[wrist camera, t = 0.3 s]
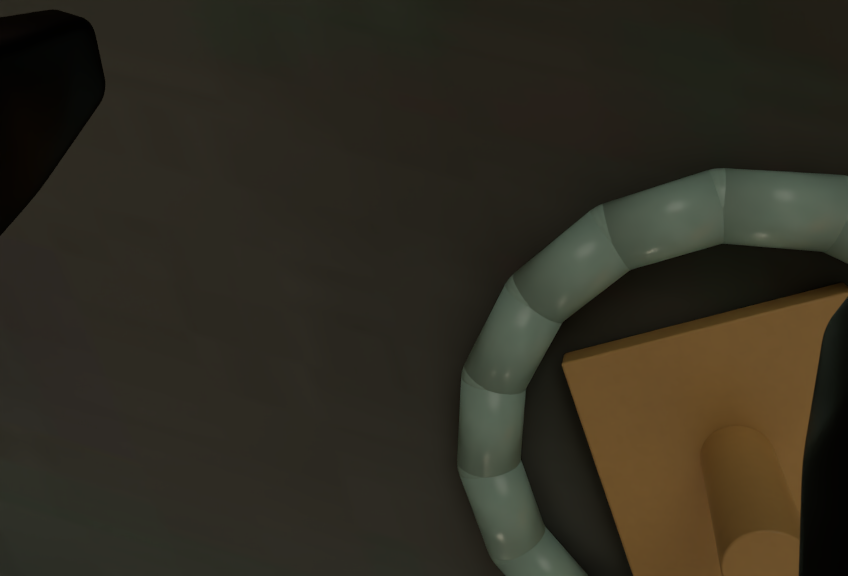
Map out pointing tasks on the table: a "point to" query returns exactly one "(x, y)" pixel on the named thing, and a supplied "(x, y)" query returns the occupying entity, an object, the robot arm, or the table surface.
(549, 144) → the table surface
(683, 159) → the table surface
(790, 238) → the hoop
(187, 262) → the table surface
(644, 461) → the stand
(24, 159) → the robot arm
